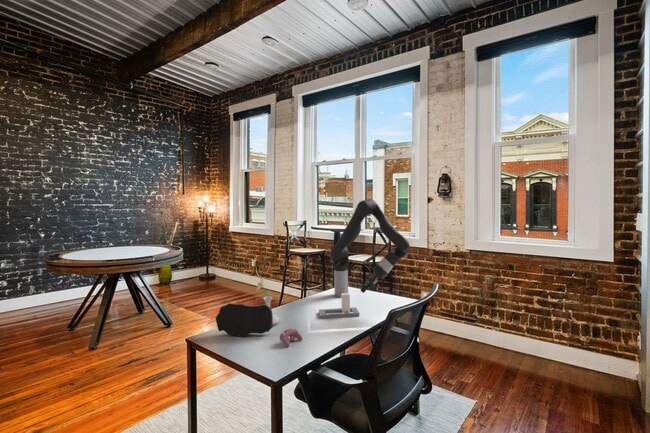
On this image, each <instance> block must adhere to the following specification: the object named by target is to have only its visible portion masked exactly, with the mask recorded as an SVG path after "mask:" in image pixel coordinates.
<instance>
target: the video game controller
mask: <svg viewBox="0 0 650 433" xmlns="http://www.w3.org/2000/svg"><path fill="white" fill-rule="evenodd" d="M302 336H303V335H301V334H300V333H299V331H298V330H297V329H295V328H294V327H293V328H287V329H285V330H284V331H282V332H281V333H280V334H279V340H280V341H281V342H282V344H283V345H284V346H285V347H286V348H289V347H290V343H291V342H294V341H295V339H297V340H299V341H300V342H302V341H303V337H302Z"/></svg>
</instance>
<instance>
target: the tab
mask: <svg viewBox="0 0 650 433" xmlns="http://www.w3.org/2000/svg"><path fill="white" fill-rule="evenodd" d="M340 298H341V308H342V313H343V312H350V308H351V297H350V293H349V292H348V293H341V297H340Z"/></svg>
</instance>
